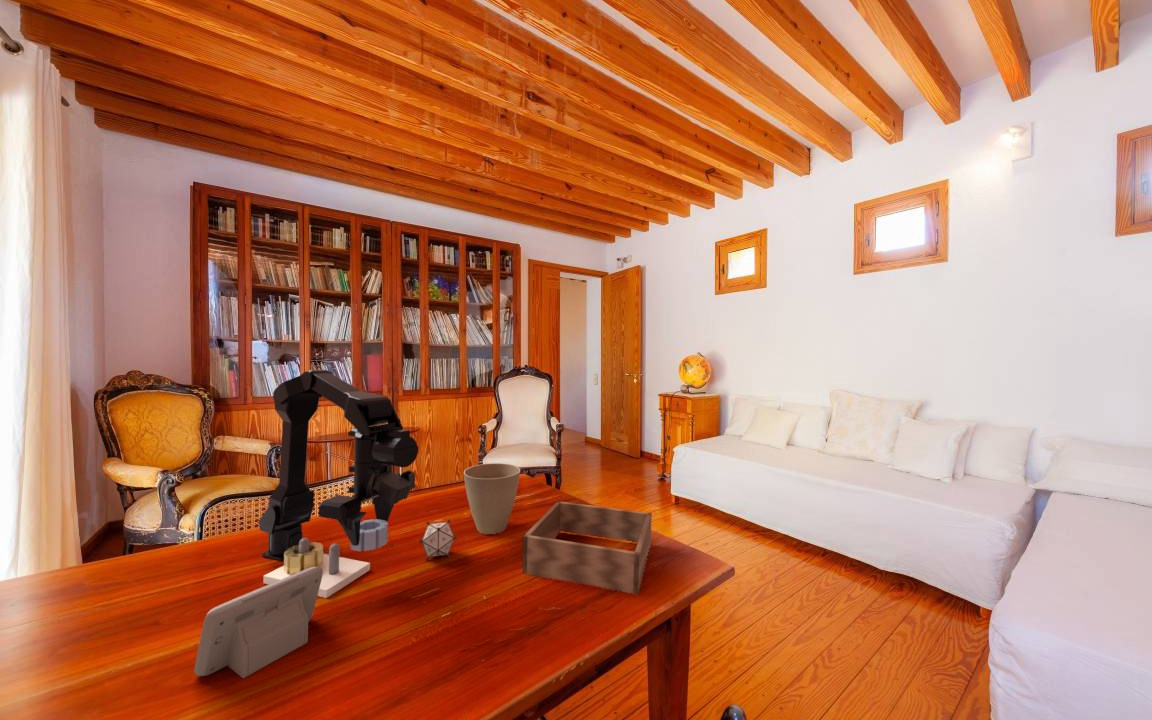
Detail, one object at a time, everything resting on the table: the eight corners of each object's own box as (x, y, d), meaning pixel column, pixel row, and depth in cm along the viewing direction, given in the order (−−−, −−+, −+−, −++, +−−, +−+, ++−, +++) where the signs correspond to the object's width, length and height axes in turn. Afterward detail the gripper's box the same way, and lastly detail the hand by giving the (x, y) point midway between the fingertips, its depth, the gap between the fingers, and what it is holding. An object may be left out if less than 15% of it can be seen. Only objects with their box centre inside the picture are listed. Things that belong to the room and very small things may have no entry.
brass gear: (277, 574, 85) (277, 557, 84) (295, 558, 91) (296, 542, 91) (312, 573, 85) (312, 556, 85) (327, 557, 92) (328, 541, 92)
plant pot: (492, 514, 123) (493, 460, 123) (530, 527, 114) (531, 469, 114) (450, 530, 111) (451, 471, 110) (489, 547, 102) (490, 482, 102)
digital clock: (313, 615, 74) (313, 556, 74) (332, 639, 69) (333, 574, 68) (189, 665, 62) (190, 594, 62) (200, 699, 56) (201, 620, 56)
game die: (441, 575, 95) (442, 553, 90) (410, 558, 97) (409, 535, 91) (463, 542, 102) (466, 520, 97) (434, 527, 104) (435, 503, 98)
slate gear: (342, 547, 81) (342, 530, 81) (368, 534, 87) (368, 517, 87) (370, 553, 79) (370, 534, 79) (394, 538, 86) (394, 521, 86)
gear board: (263, 583, 84) (263, 546, 84) (312, 558, 95) (312, 525, 94) (326, 598, 80) (326, 559, 79) (369, 569, 90) (370, 535, 90)
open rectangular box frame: (522, 583, 90) (523, 536, 90) (556, 538, 112) (557, 501, 112) (637, 605, 83) (639, 554, 83) (650, 553, 105) (651, 513, 105)
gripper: (367, 477, 72) (366, 567, 72) (433, 453, 90) (432, 525, 90) (317, 470, 75) (315, 556, 75) (390, 448, 93) (389, 518, 93)
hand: (369, 537), depth 83 cm, fingers closed on slate gear, 7 cm apart
